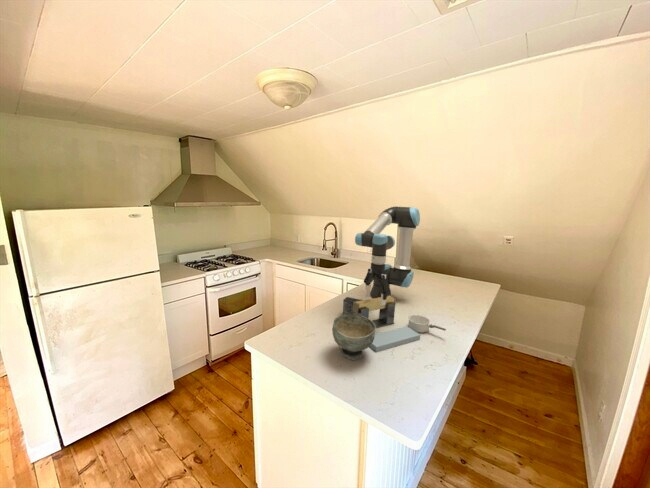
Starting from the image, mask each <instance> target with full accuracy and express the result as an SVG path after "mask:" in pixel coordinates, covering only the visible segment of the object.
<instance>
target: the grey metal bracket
mask: <svg viewBox="0 0 650 488" xmlns="http://www.w3.org/2000/svg"><path fill="white" fill-rule="evenodd" d="M395 310H396V304H395V303H390V304H387V308H383V309H379V312H378V313H379V314H378V318H377V319H372V320H371V321H373V322H374V324H375V326H376V328H375V329H377V328H382V327H387V326H392V325H394V324H395V321H394V320H395V312H396V311H395ZM369 314H370V311H369V308H364V309H360V313H359V314H357V313H355V312H354V314H353V315H360V316H364V317H366V318H368V319H370V318H369Z"/></svg>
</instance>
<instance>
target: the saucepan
mask: <svg viewBox="0 0 650 488" xmlns="http://www.w3.org/2000/svg"><path fill="white" fill-rule="evenodd" d="M407 327H409V328H410V329H412V330H414V331H415V332H417V333H427V332H428V331H429V328H430V329H439V330H442V331H446V330H447V329H446V328H444V327H442V326H439V325H435V324H432V323H431V320H430V318H428V317H426V316H423V315H420V314H411V315H409V316H408V324H407Z"/></svg>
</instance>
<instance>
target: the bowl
mask: <svg viewBox="0 0 650 488" xmlns="http://www.w3.org/2000/svg"><path fill="white" fill-rule="evenodd" d="M376 329H377V328H376V326H375V324H374V322H373V321H372V320H371V319H370V318H366V317H364V316H360V315H343V314H342V315H339V316H337V317H335V318H334V319H333V325H332V329H331V330H332V336H333V339H334V342H335V343H336V345H338V346H339V347H340V348H341V350H340V354H341V356H342V357H344V358H347V359H349V360H352V361H354V360H359V359H362V357H363V351H364V350H366V349H368V348H369V347H370V345H371V344H372V343H373V340H374V337H375V334H376Z"/></svg>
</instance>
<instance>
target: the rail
mask: <svg viewBox="0 0 650 488" xmlns="http://www.w3.org/2000/svg"><path fill="white" fill-rule="evenodd" d="M396 299H397V297H395V296H394V295H392V294H391V295H390V296H387V299H386V304H385V305H382V306H381V297H379V298H373V297H372V298H370V299H369V298H368V299H361V300H362V301H356V302H353V311H354V312H355V313H357V314H359V313H360V309H364V308H369V312H373V311H377V310H380V309H383V308H387V304H390V303H395V305H396V303H397V302H396V301H397V300H396Z"/></svg>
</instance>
